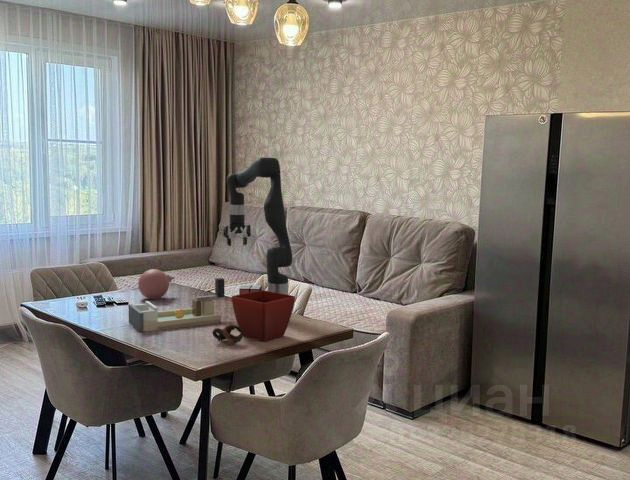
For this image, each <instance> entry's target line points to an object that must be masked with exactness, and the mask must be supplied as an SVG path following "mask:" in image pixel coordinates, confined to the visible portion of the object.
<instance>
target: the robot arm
mask: <svg viewBox="0 0 630 480" xmlns="http://www.w3.org/2000/svg"><path fill="white" fill-rule="evenodd" d="M281 177H282V176H281V165H280V162H279V160H278V158H277V157H258V158H256V160H254V161H253V162H252V163H251V164H250V165H249V166H248V167H246V168H245V169H243V170H240V171H239V172H238V173H230V174H228V175H227V177H226V185H227V188H228V192H229V204H230V205H229V225H223V231H222V232H223V233H222V234H223V238H226V244H227V246H228V247H231V246H232V237H233V236H234V235H238V234H240V235H242V236H243V237H242V244H243V246H246V245H247V244H248V238H249V237H251V236H252V235H251V234H252V233H251V225H250V224H245V222H246V221H245V219H246V218H245V217H246V216H245V215H246V214H245V211H246V208H245V195H244V193H243V192H238V190H237V189H244V188H247V187H248V186H249V184H251V183H252V182H254V181H255V180H256V179H257V178H262V179H263V178H266V179H267V178H269V179H270V189H269V192H268V193H267V196H266V199H265V200H264V204H263V211H264V212H263V213H264V219H265V222H266V224H267V225H268V227H269V228H270V229H271V230H272V232H273V233H274V234H275V235H276V237H277V240H278V245H279V246H275V247H269V248H268V249H267V250H266V251H267V252H266V255H265V256H266V276H267V291H270V292H276V293H281V294H286V295H289V276H288V275H286V274H282V273H280V272H279V268H287V267H288V268H289V267H291V265H292V263H293V253H292V247H291V242H290V239H289V234H288V229H287V221H286V211H285V205H284V204H285V203H284V199H283V190H282V179H281ZM244 229H245V230H244Z"/></svg>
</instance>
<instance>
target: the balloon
mask: <svg viewBox="0 0 630 480" xmlns="http://www.w3.org/2000/svg"><path fill="white" fill-rule="evenodd" d="M172 280H175V277H174V276H170V274H166V273H165V272H164V271H162V270H160V269H156V268H151V269H148V270H146V271H144V272H143V273H142V274H141V275H140V277H139V278H138V285H137V286H138V290H139V292H140V293H141V295H142V296H143V297H145V298H147V299H150V300H156V299H160V298H162V297H163V296H165V295H166V294H167V292H168V290H169V288H170V287H169V286H170V283H172Z"/></svg>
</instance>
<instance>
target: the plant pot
mask: <svg viewBox="0 0 630 480" xmlns="http://www.w3.org/2000/svg"><path fill="white" fill-rule="evenodd" d="M295 300H296V296H295V295H290V294H288V295H286V294H281V293H276V292H270V291H268V290H264V289H262V291H256V292H251V293H245V294H240V295H239V294H235V295H231V301H232V308H233V313H234V316H235V320H236V324H237V326H238V327H240V328H241V329H242V332H243V337H245V338H249V339H253V340H255V341H260V342H266V341H271V340H275V339H278V338H281V337H284V336H285V333H286V331H287V329H288V325H289V323H290V320H291V317H292V313H293V310H294V306H295Z"/></svg>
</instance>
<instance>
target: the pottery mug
mask: <svg viewBox="0 0 630 480" xmlns="http://www.w3.org/2000/svg"><path fill="white" fill-rule="evenodd" d="M234 330H237V332H239V334H238V335H234V334H232V331H234ZM212 335H213V337H214V339H217V341H218V342H223V341H224V340H227V342H226V346H227V347H231V346H233V345H235V344H237V343H239V342H241V341H242V340H243V337H244V336H243V332H242V329H241V328H240V327H238V325H235V324H228V325H226V326H225V327H224V328H222V329H221V328H219V327H216V328H213V330H212Z"/></svg>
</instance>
